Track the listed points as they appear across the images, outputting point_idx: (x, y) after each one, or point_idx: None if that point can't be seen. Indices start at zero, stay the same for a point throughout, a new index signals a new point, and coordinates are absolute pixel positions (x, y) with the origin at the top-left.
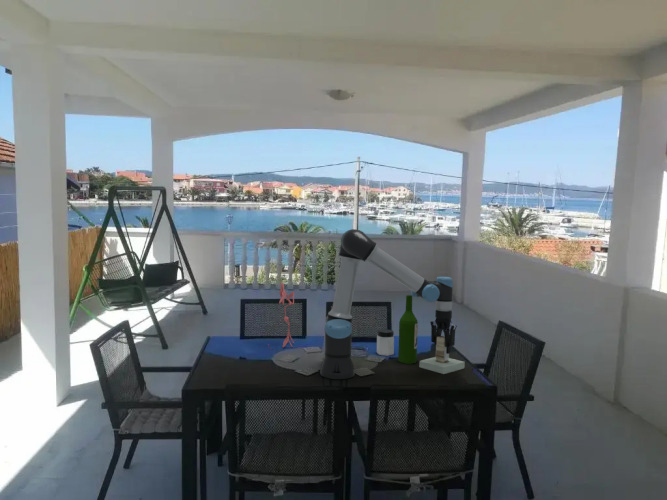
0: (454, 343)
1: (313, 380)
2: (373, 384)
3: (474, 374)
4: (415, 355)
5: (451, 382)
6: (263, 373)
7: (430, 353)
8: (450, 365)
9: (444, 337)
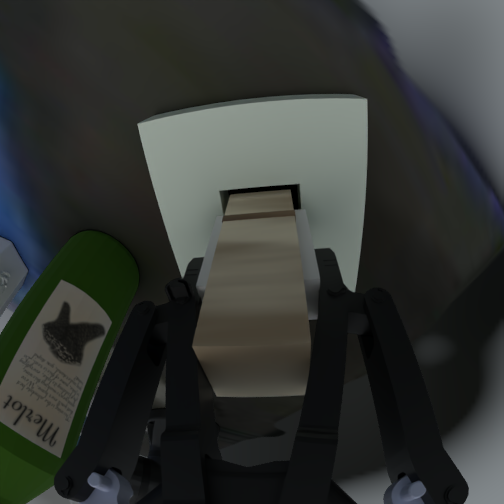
0: (394, 304)
1: None
2: (277, 420)
3: (448, 160)
4: (120, 284)
5: (416, 314)
6: (147, 442)
7: (13, 70)
8: (356, 247)
9: (276, 372)
